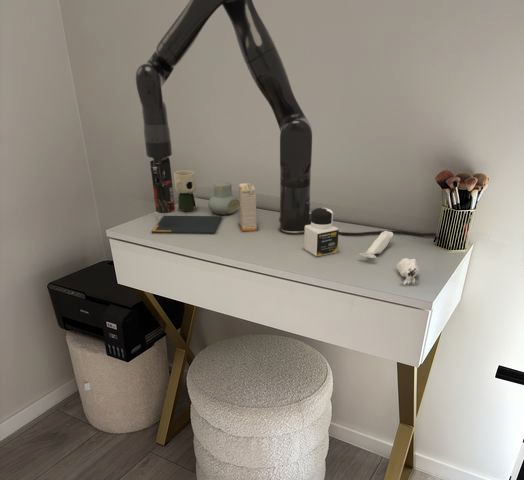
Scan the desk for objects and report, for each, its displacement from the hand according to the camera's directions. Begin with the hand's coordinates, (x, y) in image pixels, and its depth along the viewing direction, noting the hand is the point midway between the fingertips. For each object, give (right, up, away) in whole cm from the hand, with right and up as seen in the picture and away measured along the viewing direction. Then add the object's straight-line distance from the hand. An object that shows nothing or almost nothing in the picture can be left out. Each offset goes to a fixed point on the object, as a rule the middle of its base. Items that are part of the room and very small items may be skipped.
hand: (163, 195), depth 166 cm
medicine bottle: (+48, -20, -12) cm, 53 cm away
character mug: (+4, +1, +23) cm, 23 cm away
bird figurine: (+68, -29, -29) cm, 79 cm away
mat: (+6, -7, +9) cm, 13 cm away
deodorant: (0, -4, +3) cm, 5 cm away
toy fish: (+64, -21, -14) cm, 68 cm away
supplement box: (+26, -8, +6) cm, 28 cm away
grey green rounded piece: (+17, 0, +20) cm, 26 cm away
